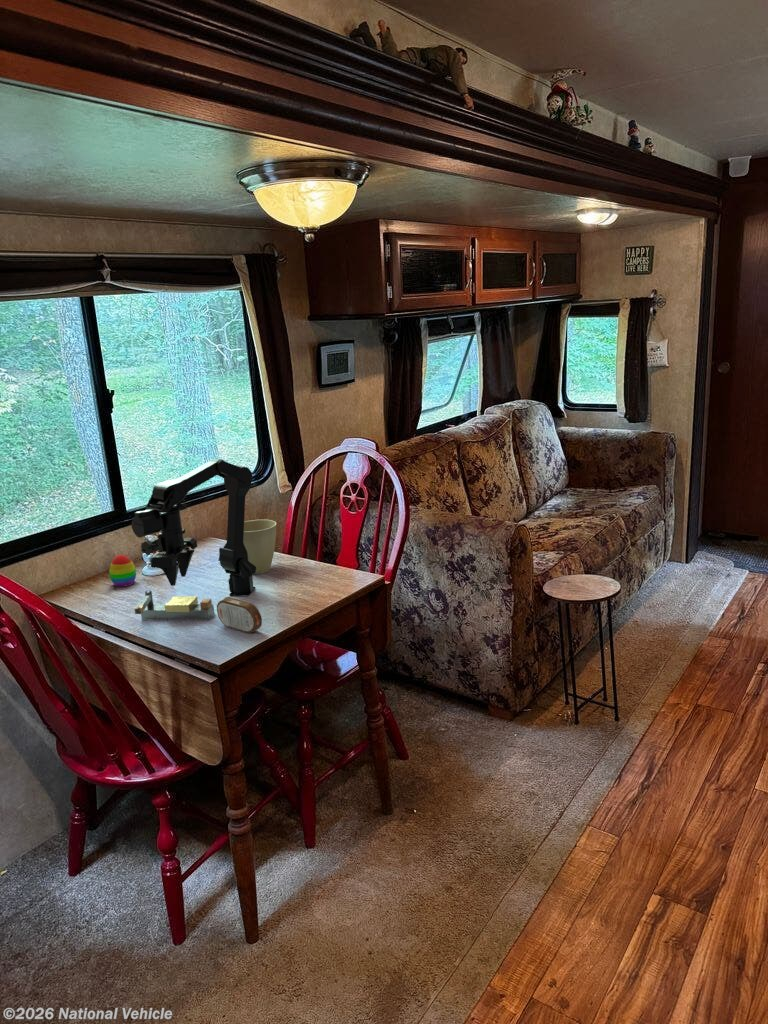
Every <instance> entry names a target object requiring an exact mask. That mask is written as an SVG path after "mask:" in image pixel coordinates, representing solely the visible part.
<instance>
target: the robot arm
mask: <svg viewBox="0 0 768 1024" xmlns="http://www.w3.org/2000/svg"><path fill="white" fill-rule="evenodd" d="M216 476H218V477H220V478H222V479H223V484H224V485H223V486H224V487H225V491H226V492H227V494H228V507H227V525H226V526H227V527H226V528H227V530H226V534H227V535H226V542H225V544H224V546H223V547H219V548H218V551H219V552H218V553H219V556H218V560H217V561H219V565H220V567H221V568H222V569H224V571H225V573H226V574H229V579H227V580H228V589H229V592H230V593H229V597H233V596H234V597H235V596H238V597H239V596H241V597H242V596H243V597H244V596H245V597H247V596H251V595H252V593H253V592H254V591H255V590H256V586H254V579H253V577H254V576H253V575H256V574H255V572H256V566H254V565H253V564H252V563H250V562H249V561H248V552H247V550H246V548H245V545H244V543H243V538H244V522H245V511H246V510H245V509H246V496H247V495H248V493H249V491H250V489H251V487H252V482H253V471H251V469H250V468H249V467H247V466H239V465H235V464H232V463H231V462H228V461H226V460H224V459H219V458H211V459H209V460H208V461H206V463H203V464H202V465H200V466H198V467H196V468H195V469H193V470H190V471H188V472H187V473H185V474H184V475H182V476H180V477H178V478H173V479H172V478H171V479H167V480H165V481H161V482H158V483H156V484H155V485H154V486H153V488H152V493H151V496H150V497H149V500H148V502H147V504H146V506H145V510H139V511H136V512H135V511H134V513H133V514H134V517H133V518H132V521H131V529H132V532H133V533H134V535H135V536H136V537H138V538H143V537H147V536H150V535H154V534H157V537H155V538H153V539H147V540H143V542H141V546H140V551H141V552H142V553H143V554H145V555H146V556H150V555H151V554H153V553H155V552H157V551H158V552H159V553H157V554H155V555H154V556H152V557H151V559H150V560H149V562H150V563H149V564H150V568H152V569H153V568H154V569H155V568H158V569H161V571H163V573H164V575H165V577H166V578H167V581H168V582H169V584H170V586H171V587H174V586H175V587H176V583H177V579H178V573H180V576H181V578H185V577H186V575H187V572H188V570H189V567H190V563H191V560H192V558H193V555H194V552H195V549H196V548H197V547H198V542H197V539H195V538H194V537H184V534H185V533H186V529H185V528H183V526H182V525H183V523H182V517H181V511H185V510H186V509H187V506H186V505H184V504H182V501H183V500H185V498H186V497H187V496H188V493H189V492H191V491H193V490H194V489H196V488H197V487H199V486H201V485H202V484H204V483H206V482H207V481H209V480H211V479H213V478H215V477H216Z"/></svg>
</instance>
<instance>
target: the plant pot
mask: <svg viewBox="0 0 768 1024" xmlns="http://www.w3.org/2000/svg"><path fill="white" fill-rule="evenodd" d="M276 539H277V522H276V521H275V520H271V519H253V520H244V538H243V543H244V545H245V548H246V550H247V552H248V561H249V562H250V563H252V564H253V565H254V566H256V572H255V574H254V575H258V574H265V573H268V572H269V571H270V570H271V567H272V563H273V558H274V553H275V547H276Z"/></svg>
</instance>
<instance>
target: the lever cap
mask: <svg viewBox="0 0 768 1024" xmlns="http://www.w3.org/2000/svg"><path fill="white" fill-rule="evenodd" d="M164 604H165V611H166V612H190V611H191V610H192V609H193V607H194V606H195V605H196V604H199V600H198V596H194V595H193V596H192V595H191V596H188V595H187V596H180V595H179V596H177V595H176V596H173V597H172V598H171V599H170V600H169V601H167V602H166V603H164Z"/></svg>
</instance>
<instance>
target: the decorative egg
mask: <svg viewBox="0 0 768 1024" xmlns="http://www.w3.org/2000/svg"><path fill="white" fill-rule="evenodd" d="M108 572H109V573H108V574H109V578H110V580H111V582H112V584H114V585H115V586H116V585H117V586H116V587H118V586H124V587H126V586H125V585H128V586H130V585H129V584H131V585H133V584H134V583H135V581H136V578H137V571H136V566H135V564H134V562H133V560H131V559H130V557H128V556H126V555H124V554H119V555H116V556H115V557H114V558H113V560H111V563H110V565H109V571H108Z"/></svg>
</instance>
